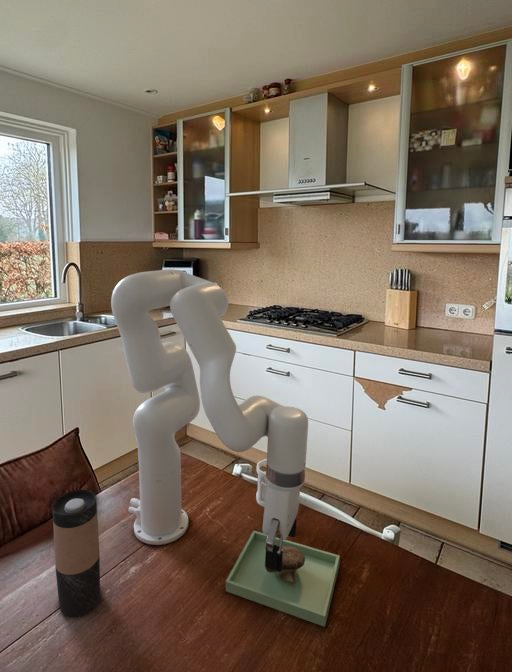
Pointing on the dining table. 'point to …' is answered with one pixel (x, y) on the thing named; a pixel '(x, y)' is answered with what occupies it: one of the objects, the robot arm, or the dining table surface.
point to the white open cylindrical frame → (261, 484)
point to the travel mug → (76, 552)
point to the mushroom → (289, 563)
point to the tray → (270, 590)
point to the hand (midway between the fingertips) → (280, 550)
